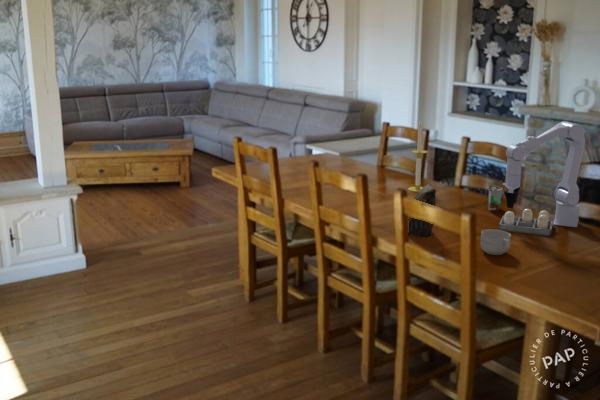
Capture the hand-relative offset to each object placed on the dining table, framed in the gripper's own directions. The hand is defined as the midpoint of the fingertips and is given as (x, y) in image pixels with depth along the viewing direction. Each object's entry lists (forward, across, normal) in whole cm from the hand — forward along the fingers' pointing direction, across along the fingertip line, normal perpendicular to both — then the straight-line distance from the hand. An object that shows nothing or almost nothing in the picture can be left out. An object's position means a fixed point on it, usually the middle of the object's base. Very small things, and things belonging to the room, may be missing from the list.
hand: (510, 205), depth 267 cm
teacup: (+10, +35, -1) cm, 36 cm away
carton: (+10, -2, +6) cm, 12 cm away
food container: (+10, -26, -9) cm, 30 cm away
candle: (+10, -48, -51) cm, 70 cm away
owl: (+10, +20, -34) cm, 41 cm away
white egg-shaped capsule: (+9, +2, 0) cm, 9 cm away
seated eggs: (+9, -2, +10) cm, 14 cm away
